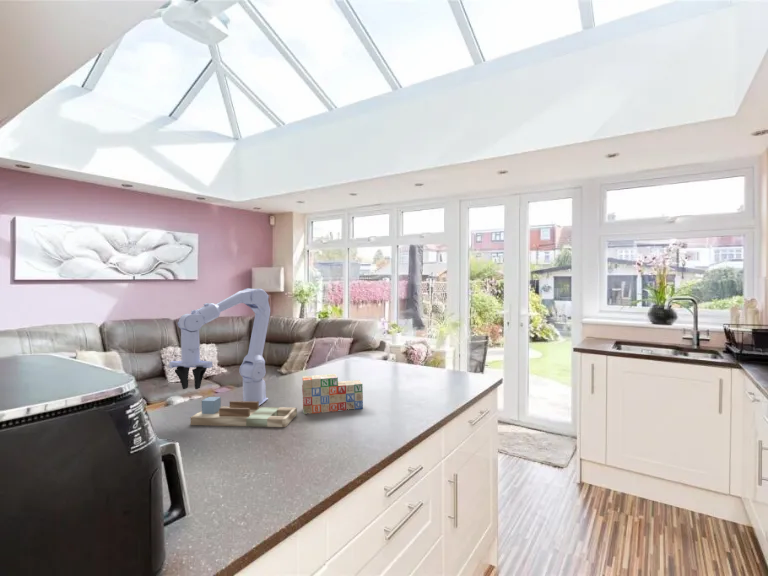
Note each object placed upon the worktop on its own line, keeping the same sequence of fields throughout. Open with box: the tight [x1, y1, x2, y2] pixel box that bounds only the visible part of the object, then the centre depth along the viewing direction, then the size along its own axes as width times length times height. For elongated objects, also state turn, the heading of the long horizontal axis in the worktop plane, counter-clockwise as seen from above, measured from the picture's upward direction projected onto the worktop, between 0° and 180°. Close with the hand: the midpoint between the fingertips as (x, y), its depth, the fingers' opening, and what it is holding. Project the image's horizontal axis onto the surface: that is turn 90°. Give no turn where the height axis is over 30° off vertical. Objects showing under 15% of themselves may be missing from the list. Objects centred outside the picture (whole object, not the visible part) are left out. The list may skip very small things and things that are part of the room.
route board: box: [189, 400, 298, 428], centre depth 139 cm, size 12×32×5 cm, turn 85°
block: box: [201, 396, 222, 414], centre depth 140 cm, size 4×4×4 cm
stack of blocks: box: [301, 373, 364, 415], centre depth 150 cm, size 21×6×12 cm, turn 103°
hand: (191, 388), depth 141 cm, fingers open, 4 cm apart
